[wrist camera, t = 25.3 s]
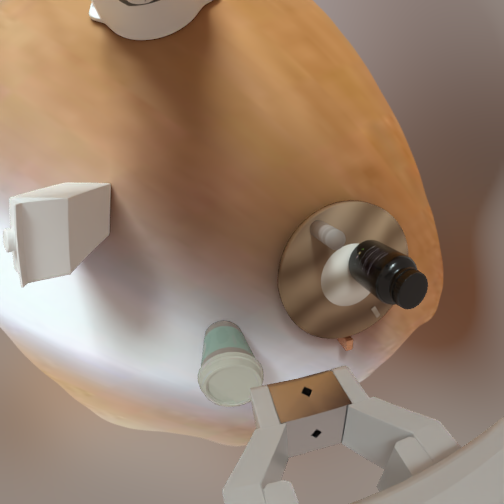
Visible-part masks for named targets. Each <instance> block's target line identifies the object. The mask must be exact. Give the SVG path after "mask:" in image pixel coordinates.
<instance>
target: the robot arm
mask: <svg viewBox="0 0 504 504" xmlns="http://www.w3.org/2000/svg"><path fill="white" fill-rule="evenodd" d="M91 1H92V3H91V7H90V10H89V16H90V18H91V19H92V20H94V21H98V22H101V23H105V24H106V25H107V26H108V27H109V28H110V29H111V30H112V31H114V32H115V33H116V34H118V35H120V36H122V37H125V38H128V39H133V40H151V39H157V38H161V37H164V36H167V35H170V34H172V33H174V32H176V31H178V30H180V29H181V28H183V27H184V26H186V25H187V24H188V23H189V22H190V21H192V20H193V19H194V17H195V16H196V15H197V14H198V12H199V11H200V10H201V8H202V7H203V6H204V5H206V4H207V3H209V2H211V1H213V0H91ZM250 396H251V402H252V409H253V414H254V420H255V425H256V429H255V431H254V433H253V435H252V437H251V438H250V440H249V442H248V444H247V446H246V448H245V450H244V452H243V454H242V456H241V457H240V459H239V461H238V463H237V465H236V466H235V468H234V470H233V472H232V474H231V475H230V477H229V479H228V481H227V482H226V484H225V486H224V488H223V489H222V491H223V498H224V504H299V502H298V500H297V497H296V494H295V491H294V488H293V486H292V483H291V482H288V481H285V480H283V481H281V479H282V476H283V474H284V471H285V468H286V465H287V462H288V458H290V457H294V456H297V455H301V454H304V453H308V452H311V451H314V450H318V449H322V448H325V447H329V446H332V445H336V444H339V443H342V444H343V445H344V446H346V447H347V448H349V449H351V450H353V451H354V452H356V453H357V454H359V455H360V456H362V457H364V458H366V459H367V460H369V461H371V462H373V463H374V464H376V465H378V466H379V467H381V468H383V469H384V472H383V474H382V476H381V478H380V481H379V483H378V485H377V488H378V490H379V492H378V493H375V494H373V495H371V496H368V497H366V498H363V499H361V500H358V501H355V502H353V503H350V504H504V417H502V418H501V419H500V420H499V421H497V422H496V423H495V424H494V425H492V426H491V427H490V428H489V429H487V430H486V431H485V432H483V433H482V434H480V435H479V436H478V437H477V438H475V439H473V440H472V441H470V442H469V443H468V444H466V445H465V446H463V447H462V448H461V446H460V445H459V444H458V443H457V441H456V440H455V439H454V438H453V437H452V435H451V434H450V433H449V432H448V431H447V429H446V428H445V427H444V426H443V425H442V424H441V423H440V421H439V420H436V419H434V418H430V417H427V416H425V415H422V414H419V413H416V412H413V411H411V410H408V409H405V408H403V407H400V406H397V405H394V404H392V403H389V402H387V401H384V400H381V399H379V398H376V397H372V398H369V396H368V395H367V393H366V392H365V391H364V389H363V388H362V387H361V385H360V384H359V382H358V381H357V379H356V378H355V377H354V375H353V374H352V372H351V371H350V370H349V368H348V367H347V366H341V367H338V368H335V369H331V370H328V371H324V372H321V373H317V374H313V375H309V376H306V377H302V378H298V379H294V380H289V381H284V382H279V383H274V384H268V385H267V386H266V385H265V386H259V387H253V388H250Z"/></svg>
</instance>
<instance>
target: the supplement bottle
mask: <svg viewBox="0 0 504 504" xmlns="http://www.w3.org/2000/svg"><path fill="white" fill-rule="evenodd" d="M349 272H350V274H351V276H352V277H353V279H354V280H355V281H357V282H358V283H359V284H360V285H362V286H363V287H364V288H365V289H366V290H368V291H369V292H370V293H371V294H373V295H374V296H375V297H376V298H378V299H379V300H380V301H381V302H383V303H385V304H388V305H395V304H397V305H399V306H400V307H402V308H404V309H411V308H414V307H416V306H417V305H419V303H421V301H422V300H423V299H424V297H425V295H426V293H427V287H428V282H427V279H426V276H425V275H424V274H422V273H421V272H419V271H418V270H417V267H416V264H415V262H414V261H413V260H412V259H411V258H410V257H408V256H407V255H405V254H403V253H401V252H399V251H397V250H395V249H393V248H391V247H389V246H387V245H385V244H383V243H381V242H379V241H376V240H366V241H363V242H361V243H360V244H358V245H357V246H356V247H355V249H354V250H353V251H352V253H351V255H350V258H349Z"/></svg>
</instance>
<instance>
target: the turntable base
mask: <svg viewBox="0 0 504 504" xmlns="http://www.w3.org/2000/svg"><path fill="white" fill-rule="evenodd" d="M338 341H339V342H340V344H341V345H342V346H343V348H344V349H345V350H346V351H348V350H352V349H353V339H352V338H351V336H348V337H344V338H338Z"/></svg>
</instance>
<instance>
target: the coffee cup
mask: <svg viewBox="0 0 504 504" xmlns="http://www.w3.org/2000/svg"><path fill="white" fill-rule="evenodd" d="M198 383H199V386H200V389H201V390H202V392H203V393H204V394H205V396H206V397H207V399H208V400H210V401H211V402H213V403H214V404H217V405H220V406H225V407H234V406H240V405H243V404H246V403H248V402H250V401H251V396H250V388H253V387H259V386H262V383H263V369H262V366H261V364H260V363H259V362H258V361H257V360H256V359H255V357H254V355H253V353H252V352H251V350H250V348H249V346H248V344H247V342H246V340H245V338H244V336H243V334H242V332H241V330H240V329H239V327H238V326H237V325H235V324H234V323H232V322H228V321H220V322H216V323H214V324H212V325H211V326H210V327H209V328H208V329H207V331H206V333H205V338H204V346H203V354H202V362H201V368H200V370H199V373H198Z"/></svg>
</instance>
